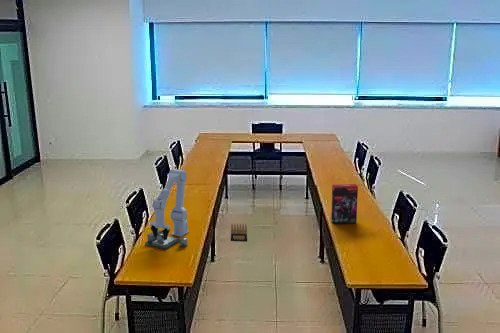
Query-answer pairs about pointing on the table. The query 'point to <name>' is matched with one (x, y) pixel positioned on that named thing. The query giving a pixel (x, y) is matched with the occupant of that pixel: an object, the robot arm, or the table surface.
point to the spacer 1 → (160, 238)
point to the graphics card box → (344, 203)
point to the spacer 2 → (183, 242)
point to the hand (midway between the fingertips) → (160, 238)
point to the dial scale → (167, 243)
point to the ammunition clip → (239, 233)
